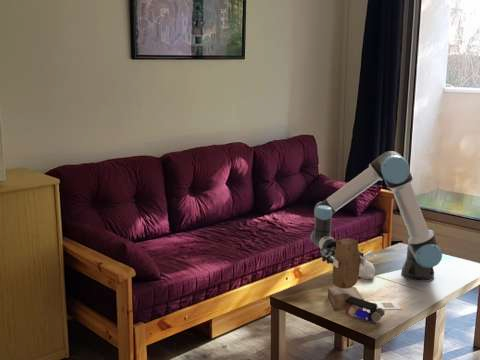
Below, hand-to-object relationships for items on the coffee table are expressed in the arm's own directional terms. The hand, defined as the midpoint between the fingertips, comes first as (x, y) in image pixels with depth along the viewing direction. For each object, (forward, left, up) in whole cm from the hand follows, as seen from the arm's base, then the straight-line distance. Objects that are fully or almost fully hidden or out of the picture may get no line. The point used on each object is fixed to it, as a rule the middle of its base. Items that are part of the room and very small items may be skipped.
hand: (351, 263), depth 240 cm
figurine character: (-4, +10, -20) cm, 23 cm away
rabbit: (-18, -36, -20) cm, 44 cm away
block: (+1, -4, -11) cm, 12 cm away
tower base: (0, -4, -20) cm, 20 cm away
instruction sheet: (-15, -2, -20) cm, 24 cm away
